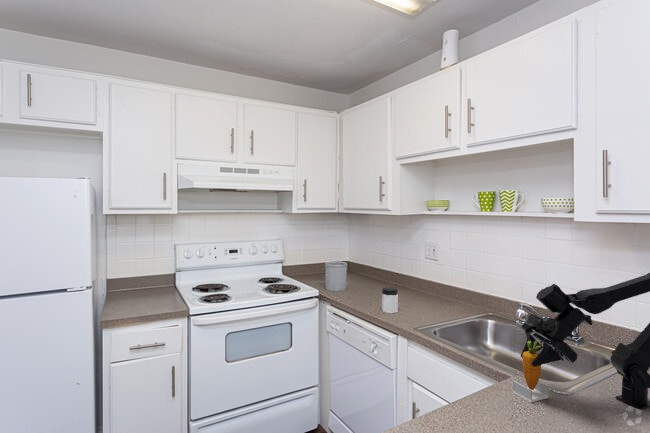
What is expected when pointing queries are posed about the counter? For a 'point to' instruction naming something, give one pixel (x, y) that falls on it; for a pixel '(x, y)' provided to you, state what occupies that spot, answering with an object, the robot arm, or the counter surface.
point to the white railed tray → (531, 391)
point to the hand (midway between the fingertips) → (527, 361)
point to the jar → (389, 300)
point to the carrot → (531, 366)
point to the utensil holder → (336, 276)
